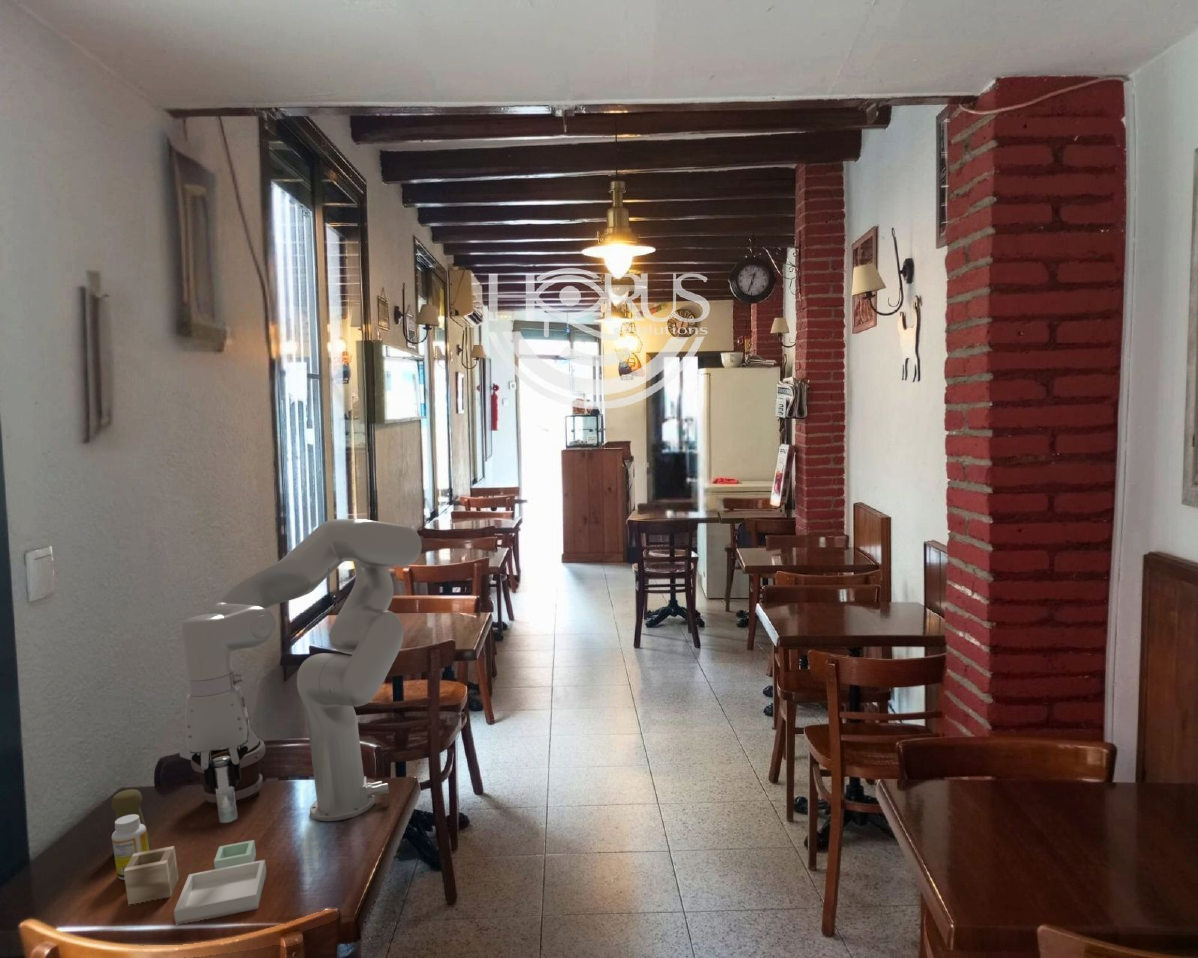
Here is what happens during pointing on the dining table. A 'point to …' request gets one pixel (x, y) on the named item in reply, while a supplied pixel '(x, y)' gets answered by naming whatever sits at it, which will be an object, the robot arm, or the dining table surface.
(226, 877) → the tray
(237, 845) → the socket
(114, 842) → the supplement bottle
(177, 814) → the dining table surface
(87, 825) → the dining table surface
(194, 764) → the flowerpot
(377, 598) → the robot arm
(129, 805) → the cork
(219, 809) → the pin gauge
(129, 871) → the maple block
